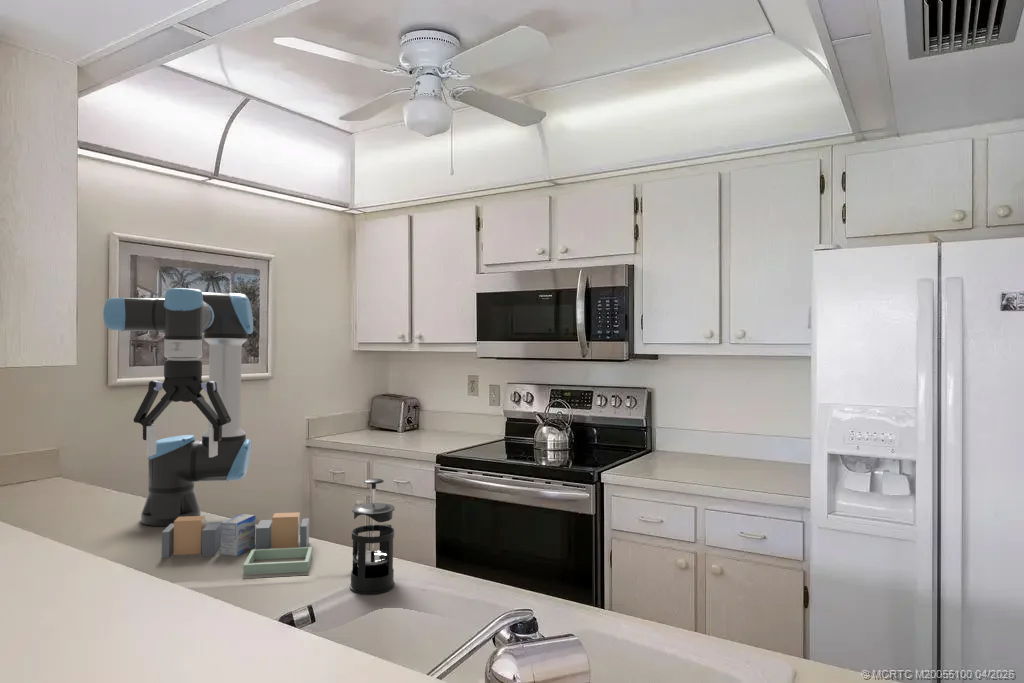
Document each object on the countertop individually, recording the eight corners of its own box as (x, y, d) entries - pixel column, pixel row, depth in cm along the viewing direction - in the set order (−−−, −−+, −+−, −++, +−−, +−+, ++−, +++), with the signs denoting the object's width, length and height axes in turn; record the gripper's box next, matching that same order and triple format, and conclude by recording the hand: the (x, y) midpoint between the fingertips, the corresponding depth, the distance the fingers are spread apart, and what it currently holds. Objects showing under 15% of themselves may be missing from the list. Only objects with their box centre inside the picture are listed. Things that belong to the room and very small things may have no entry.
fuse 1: (178, 549, 164) (178, 516, 164) (204, 548, 165) (205, 515, 165) (173, 555, 160) (173, 521, 160) (200, 553, 161) (201, 520, 161)
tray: (251, 562, 158) (251, 549, 158) (312, 559, 161) (312, 546, 161) (243, 579, 148) (243, 565, 148) (308, 575, 151) (308, 561, 151)
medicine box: (236, 560, 160) (237, 523, 160) (219, 558, 161) (220, 522, 161) (255, 549, 168) (256, 514, 168) (239, 548, 169) (240, 513, 169)
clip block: (170, 552, 165) (170, 523, 165) (308, 545, 171) (309, 518, 171) (161, 562, 158) (162, 532, 158) (306, 555, 165) (306, 526, 164)
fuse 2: (274, 545, 168) (274, 513, 168) (299, 544, 169) (299, 512, 169) (271, 550, 164) (272, 517, 164) (297, 549, 166) (298, 516, 165)
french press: (378, 598, 139) (380, 486, 138) (339, 592, 142) (340, 482, 141) (406, 579, 150) (407, 475, 149) (369, 573, 153) (370, 471, 153)
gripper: (116, 358, 145) (115, 457, 145) (233, 360, 145) (232, 459, 145) (135, 357, 152) (134, 451, 153) (246, 359, 153) (245, 453, 153)
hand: (182, 455), depth 149 cm, fingers open, 13 cm apart
